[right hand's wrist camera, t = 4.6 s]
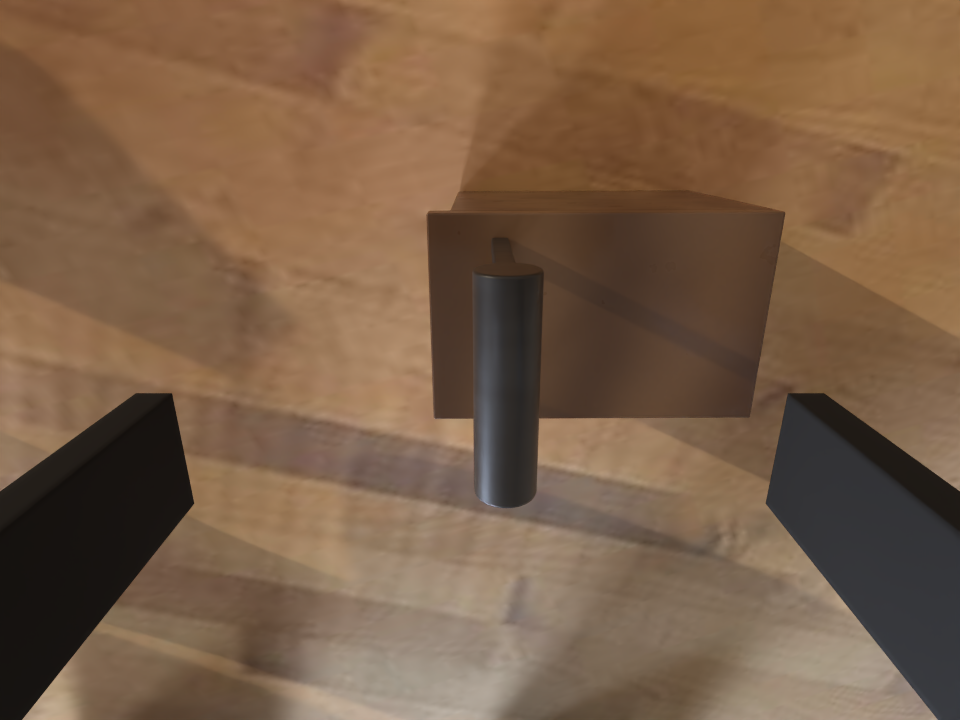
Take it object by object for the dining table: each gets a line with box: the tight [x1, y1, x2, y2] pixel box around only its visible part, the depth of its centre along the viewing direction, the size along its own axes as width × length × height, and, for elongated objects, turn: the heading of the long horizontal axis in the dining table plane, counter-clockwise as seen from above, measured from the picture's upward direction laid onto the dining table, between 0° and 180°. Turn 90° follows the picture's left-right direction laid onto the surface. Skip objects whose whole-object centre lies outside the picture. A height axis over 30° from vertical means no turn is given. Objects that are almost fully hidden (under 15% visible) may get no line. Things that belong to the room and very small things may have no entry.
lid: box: [427, 209, 785, 508], centre depth 22 cm, size 15×9×9 cm, turn 90°
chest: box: [451, 191, 770, 211], centre depth 31 cm, size 14×9×10 cm
